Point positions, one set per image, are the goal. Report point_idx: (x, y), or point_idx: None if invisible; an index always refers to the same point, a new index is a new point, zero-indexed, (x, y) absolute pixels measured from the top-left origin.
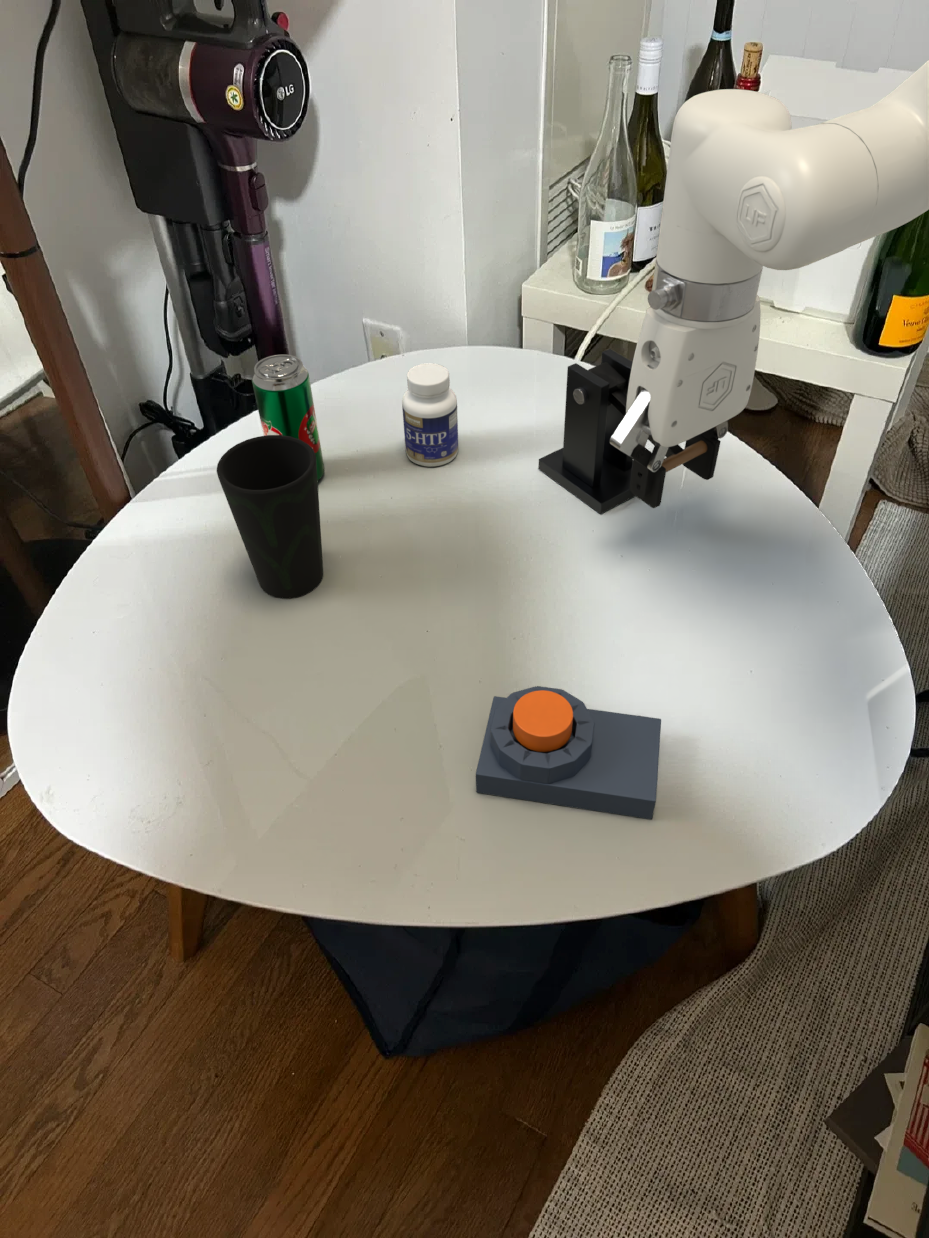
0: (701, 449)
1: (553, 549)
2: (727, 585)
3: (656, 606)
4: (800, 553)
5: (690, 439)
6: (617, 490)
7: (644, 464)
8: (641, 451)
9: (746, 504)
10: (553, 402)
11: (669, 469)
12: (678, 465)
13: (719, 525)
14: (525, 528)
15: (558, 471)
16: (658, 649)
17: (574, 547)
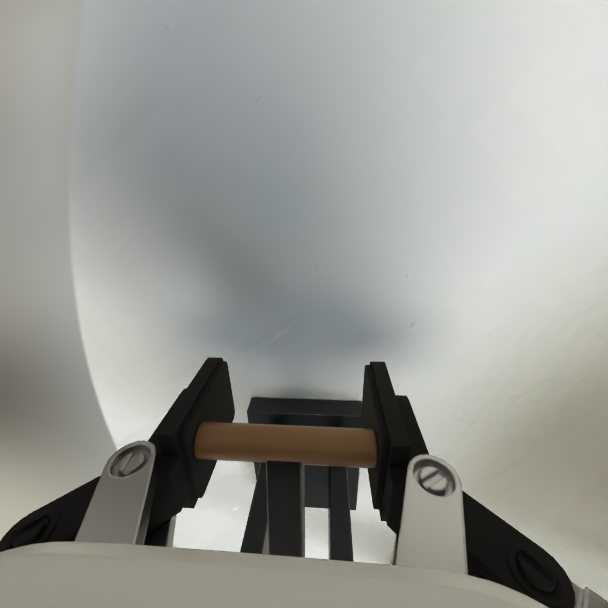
0: (217, 437)
1: (473, 390)
2: (332, 156)
3: (479, 198)
4: (150, 135)
5: (208, 468)
6: (320, 422)
7: (472, 502)
8: (547, 590)
9: (157, 293)
10: None
11: (341, 432)
12: (306, 428)
13: (229, 283)
14: (462, 437)
15: (355, 485)
16: (591, 96)
17: (448, 377)
